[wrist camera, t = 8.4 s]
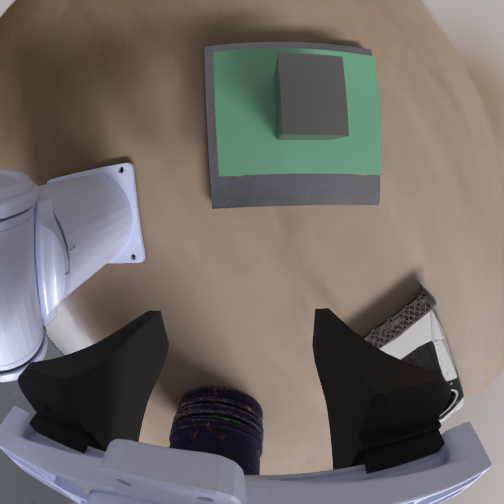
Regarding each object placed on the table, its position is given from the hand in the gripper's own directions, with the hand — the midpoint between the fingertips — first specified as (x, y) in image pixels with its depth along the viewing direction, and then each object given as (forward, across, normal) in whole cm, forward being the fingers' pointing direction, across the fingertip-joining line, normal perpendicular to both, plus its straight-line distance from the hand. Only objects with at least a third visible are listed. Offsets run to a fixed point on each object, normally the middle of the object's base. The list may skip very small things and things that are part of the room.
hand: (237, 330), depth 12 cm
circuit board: (+7, -4, -10) cm, 13 cm away
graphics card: (+10, -19, +16) cm, 27 cm away
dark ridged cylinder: (+10, +4, +19) cm, 22 cm away
